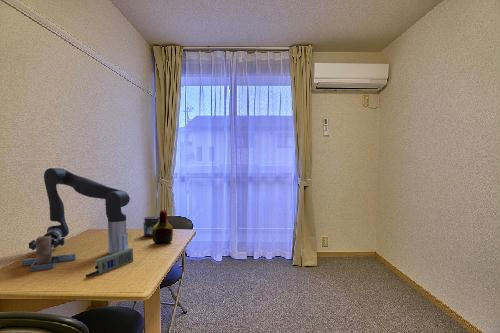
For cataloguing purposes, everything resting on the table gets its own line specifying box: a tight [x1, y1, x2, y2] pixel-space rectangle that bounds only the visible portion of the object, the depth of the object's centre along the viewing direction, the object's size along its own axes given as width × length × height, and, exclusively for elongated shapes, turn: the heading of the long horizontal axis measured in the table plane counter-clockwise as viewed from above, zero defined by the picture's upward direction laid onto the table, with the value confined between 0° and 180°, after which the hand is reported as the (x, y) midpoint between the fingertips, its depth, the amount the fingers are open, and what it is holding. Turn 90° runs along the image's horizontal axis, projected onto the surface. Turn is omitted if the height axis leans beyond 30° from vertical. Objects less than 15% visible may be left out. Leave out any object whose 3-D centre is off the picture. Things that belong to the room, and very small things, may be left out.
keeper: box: [21, 253, 77, 272], centre depth 144 cm, size 22×12×2 cm, turn 113°
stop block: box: [35, 235, 53, 265], centre depth 142 cm, size 5×5×14 cm
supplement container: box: [143, 215, 159, 238], centre depth 200 cm, size 10×10×12 cm
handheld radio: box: [85, 247, 134, 279], centre depth 139 cm, size 7×3×25 cm
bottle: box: [152, 209, 174, 245], centre depth 182 cm, size 12×6×20 cm, turn 98°
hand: (44, 246), depth 142 cm, fingers open, 8 cm apart
